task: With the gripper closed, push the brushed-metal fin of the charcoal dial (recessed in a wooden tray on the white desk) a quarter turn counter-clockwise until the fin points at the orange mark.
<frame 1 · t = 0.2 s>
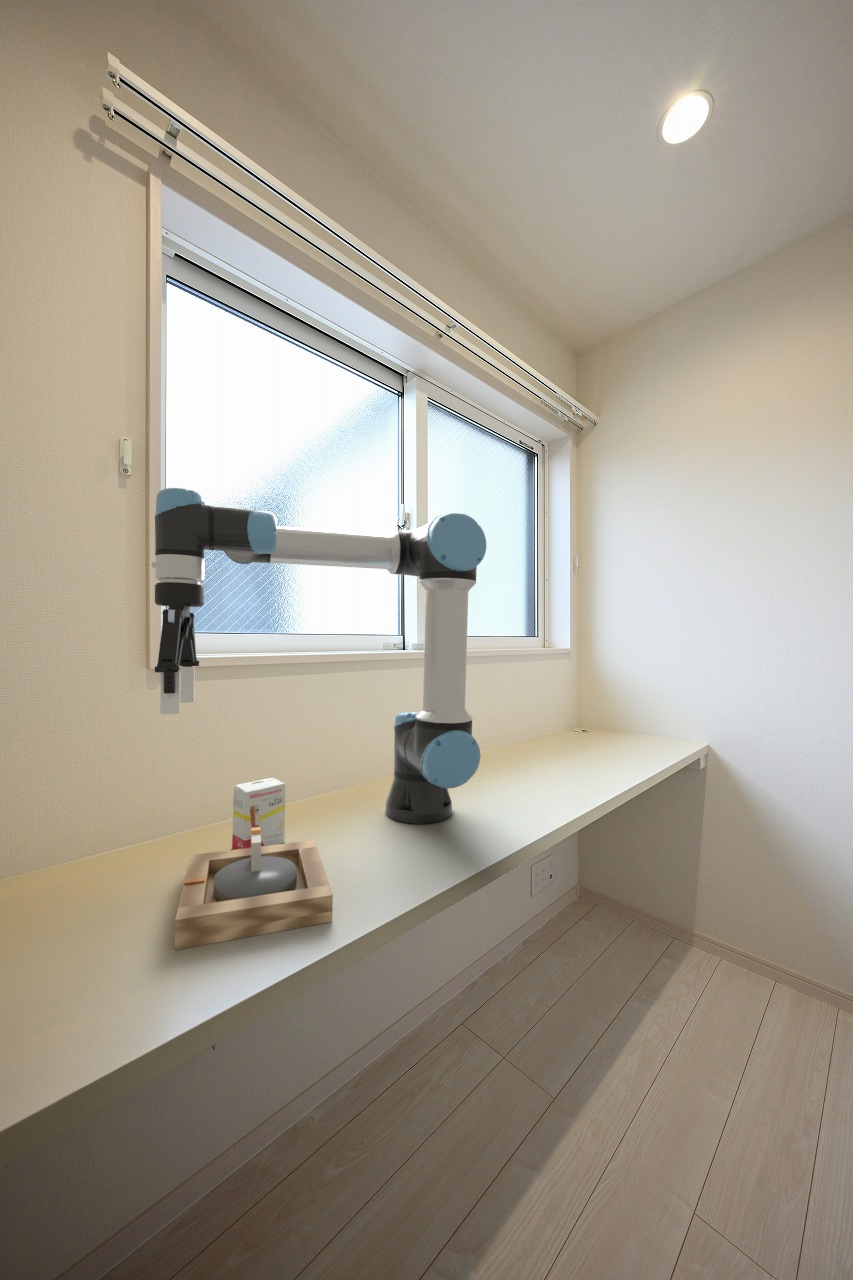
hand: (178, 707, 86), 28 cm above the table, fingers open, 13 cm apart
ink box: (259, 846, 96), on the table
dial: (256, 863, 77), point 5 cm above the table, hinge at 0.0°
wooden tray: (255, 898, 77), on the table
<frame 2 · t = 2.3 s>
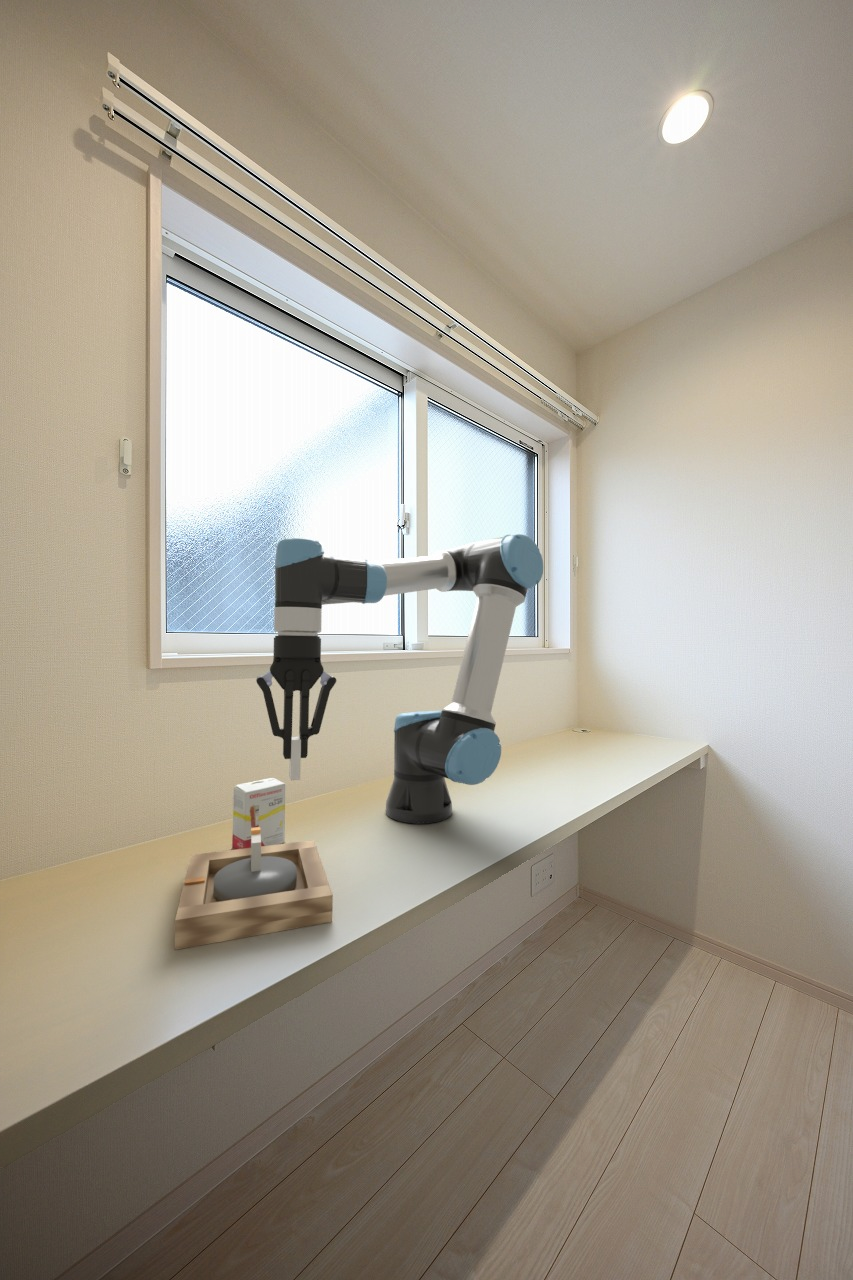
hand: (294, 777, 83), 17 cm above the table, fingers closed
nothing on the table moved.
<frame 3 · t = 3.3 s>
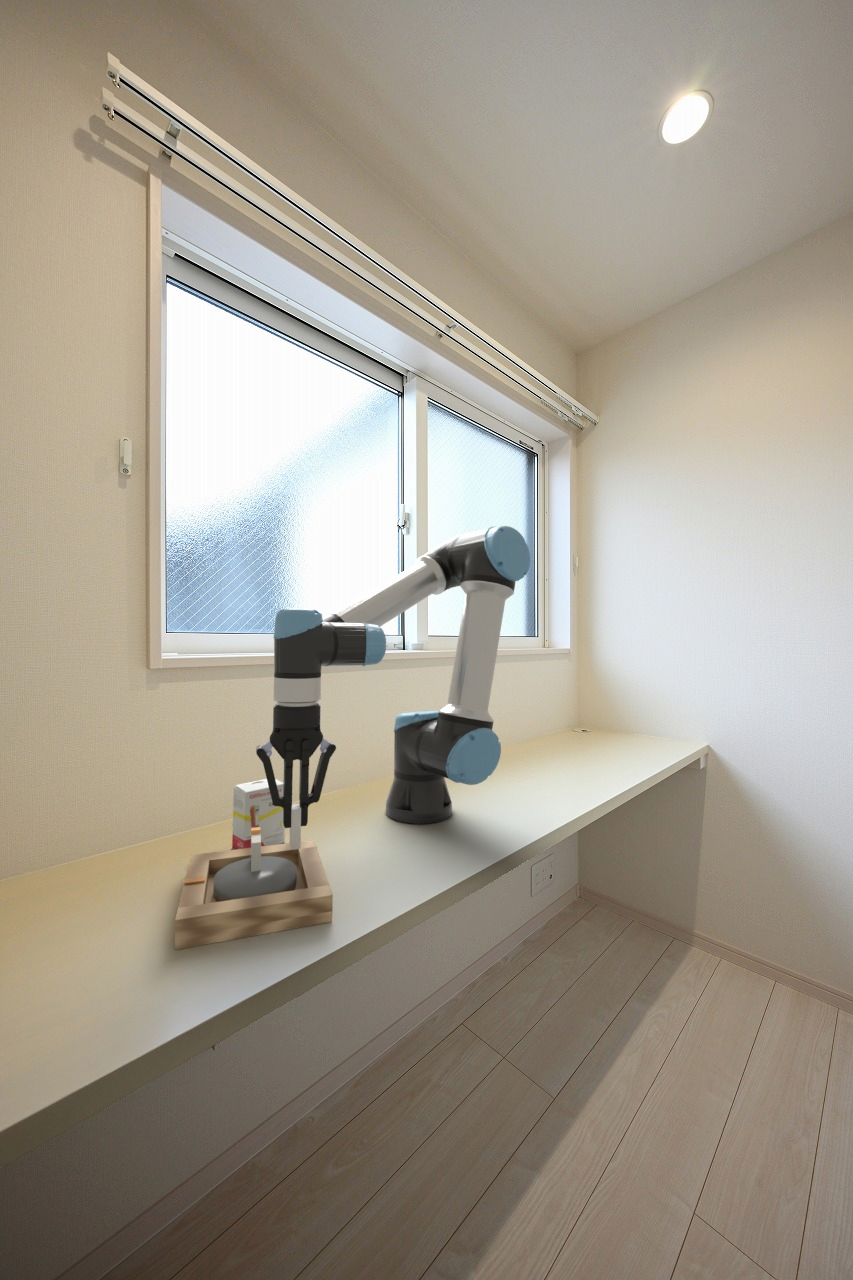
hand: (295, 845, 83), 6 cm above the table, fingers closed
nothing on the table moved.
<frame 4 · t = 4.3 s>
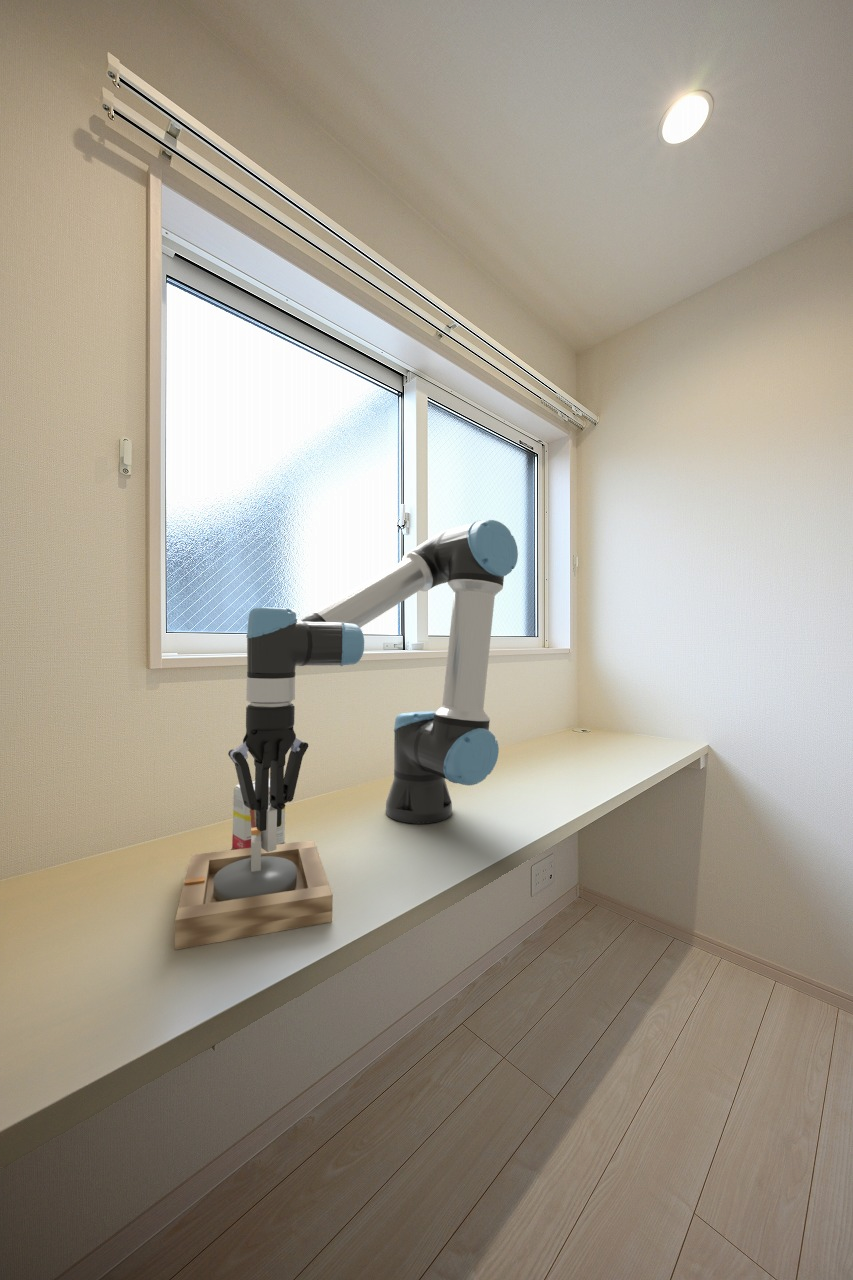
hand: (268, 848, 82), 6 cm above the table, fingers closed
dial: (256, 863, 77), point 5 cm above the table, hinge at 0.0°, touching gripper
everything else where it was.
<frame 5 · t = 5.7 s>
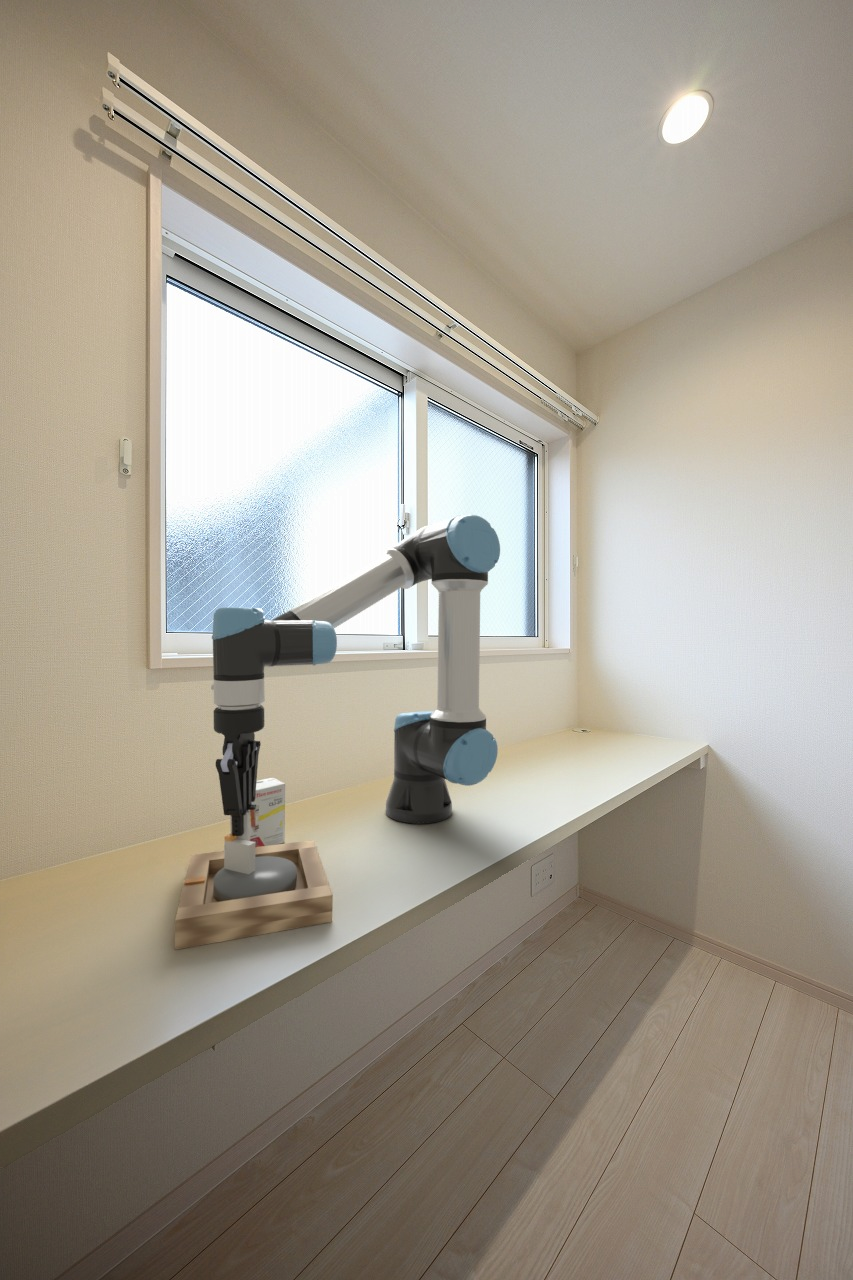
hand: (240, 852, 80), 5 cm above the table, fingers closed
dial: (256, 863, 77), point 5 cm above the table, hinge at 48.4°, touching gripper
everything else where it was.
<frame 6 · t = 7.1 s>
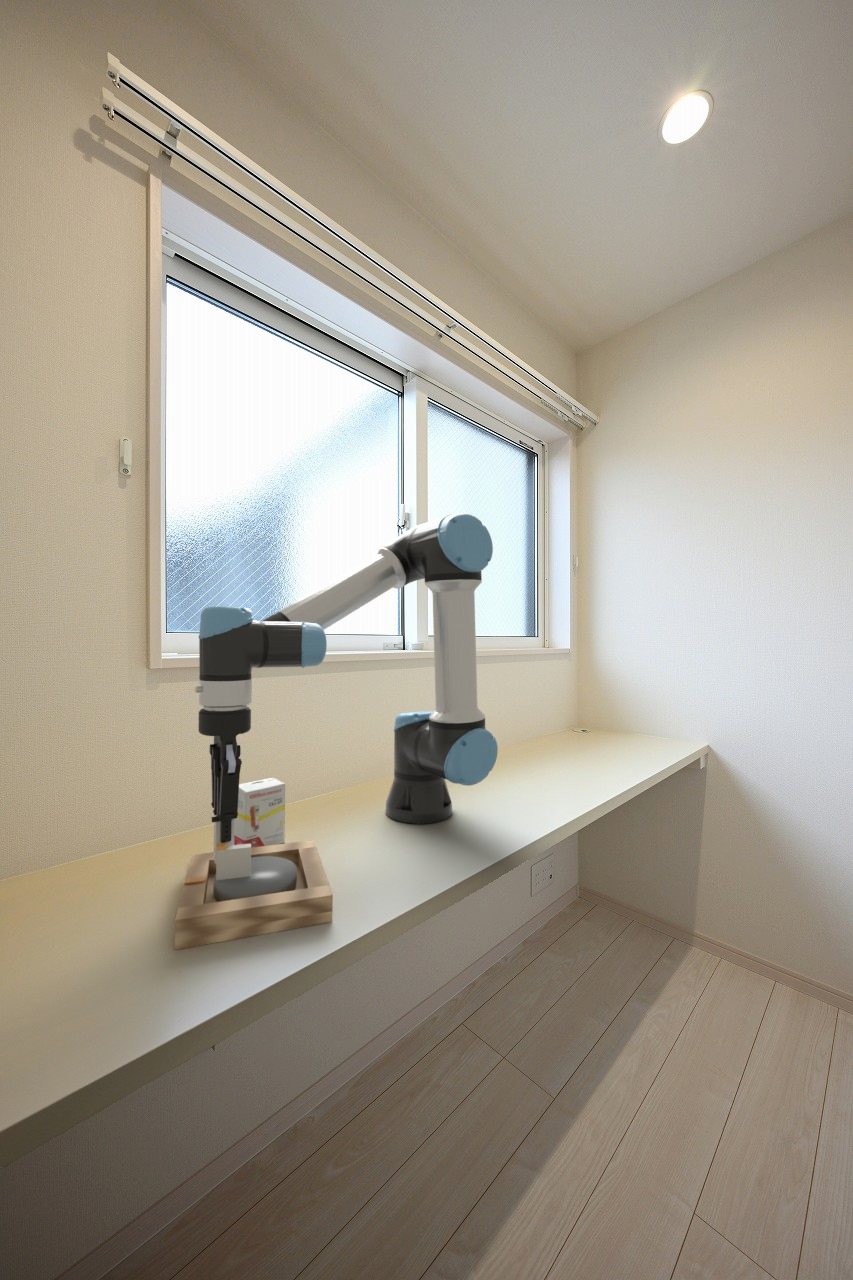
hand: (223, 859, 78), 5 cm above the table, fingers closed
dial: (256, 863, 77), point 5 cm above the table, hinge at 87.3°, touching gripper
everything else where it was.
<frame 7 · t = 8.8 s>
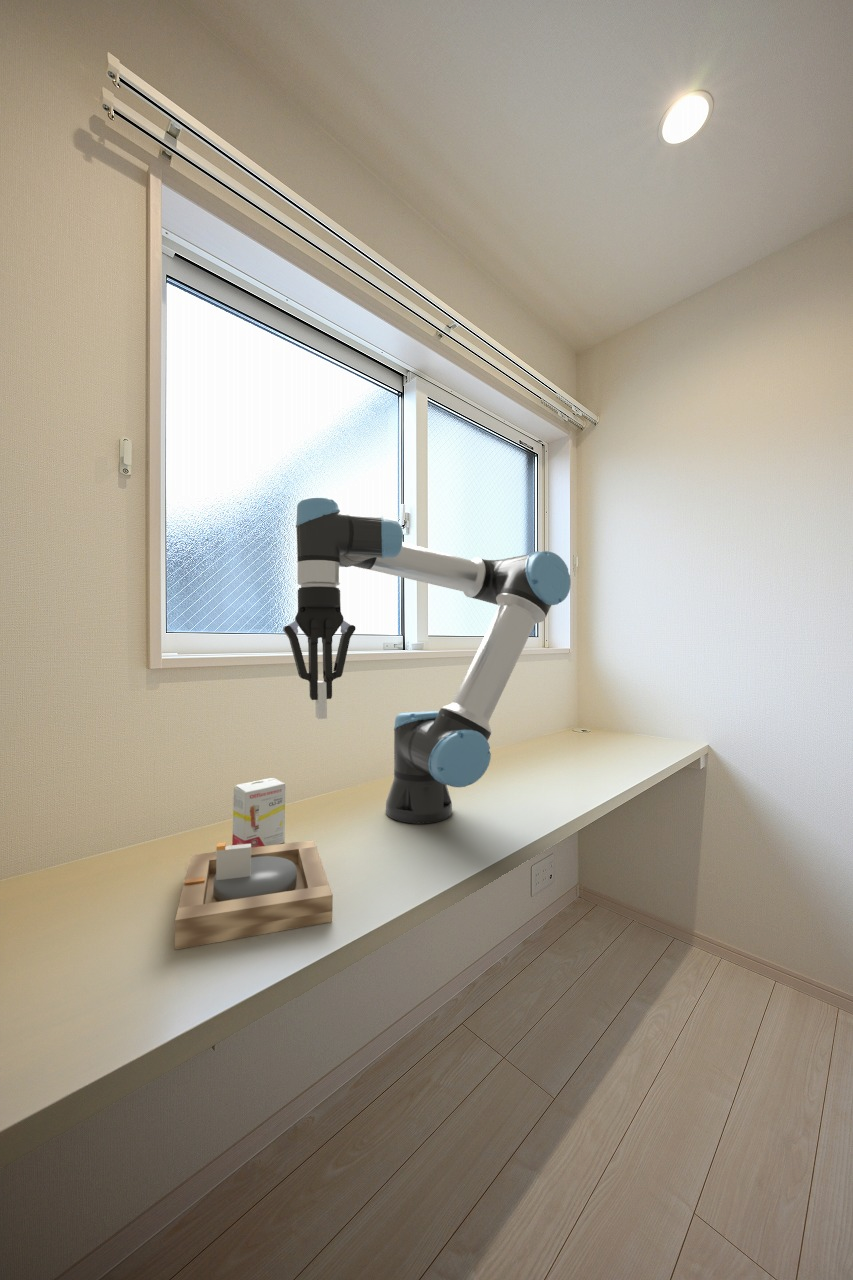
hand: (321, 717, 91), 25 cm above the table, fingers closed
dial: (256, 863, 77), point 5 cm above the table, hinge at 87.2°
everything else where it was.
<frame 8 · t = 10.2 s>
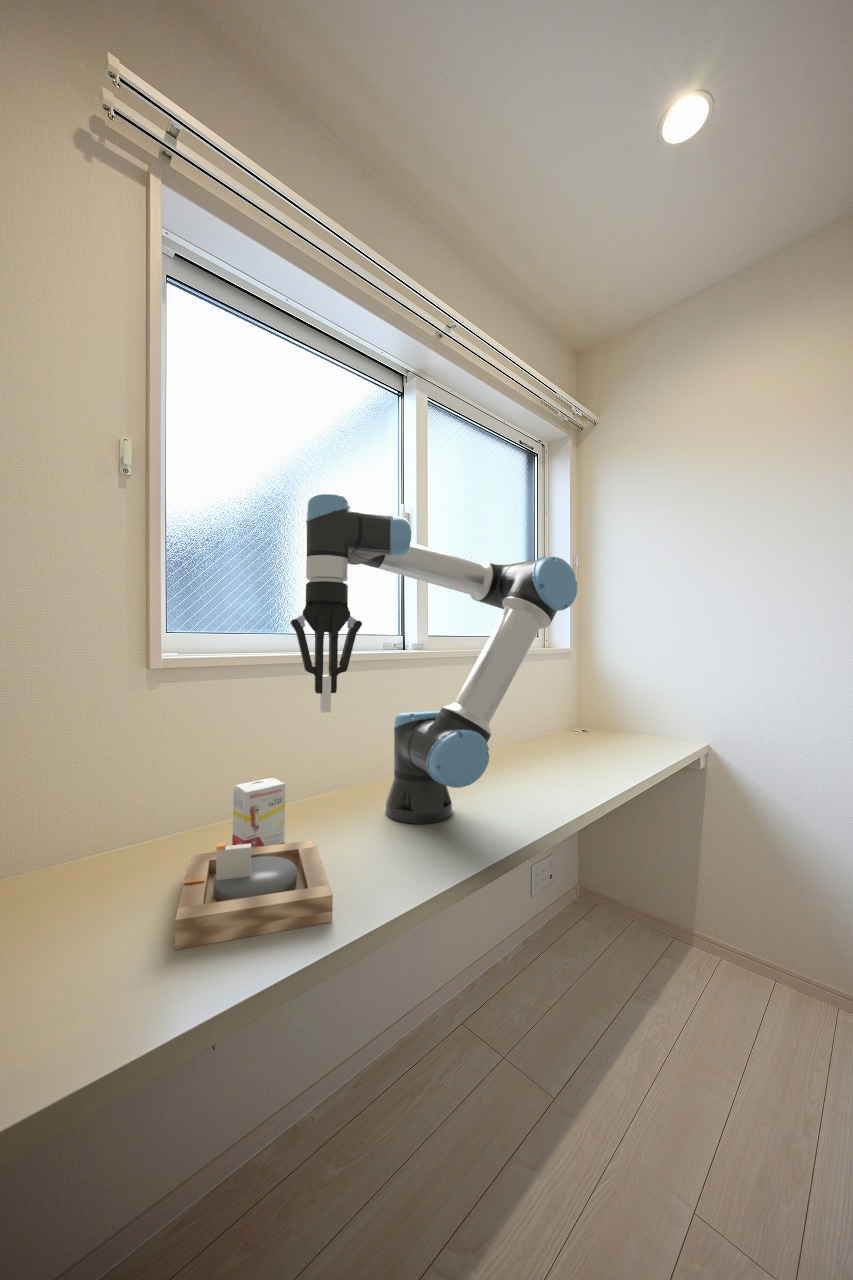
hand: (325, 711, 92), 26 cm above the table, fingers closed
nothing on the table moved.
at the end: dial at +87° (first picture: +0°) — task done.
